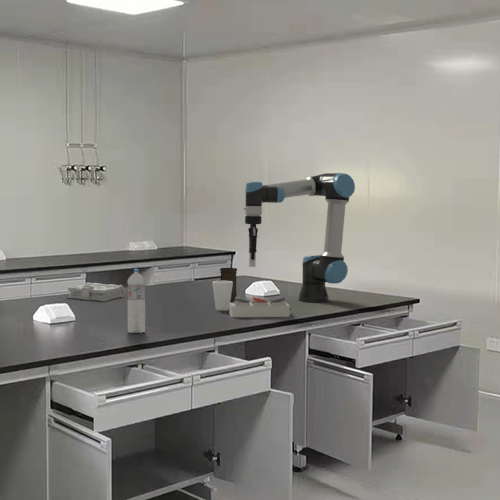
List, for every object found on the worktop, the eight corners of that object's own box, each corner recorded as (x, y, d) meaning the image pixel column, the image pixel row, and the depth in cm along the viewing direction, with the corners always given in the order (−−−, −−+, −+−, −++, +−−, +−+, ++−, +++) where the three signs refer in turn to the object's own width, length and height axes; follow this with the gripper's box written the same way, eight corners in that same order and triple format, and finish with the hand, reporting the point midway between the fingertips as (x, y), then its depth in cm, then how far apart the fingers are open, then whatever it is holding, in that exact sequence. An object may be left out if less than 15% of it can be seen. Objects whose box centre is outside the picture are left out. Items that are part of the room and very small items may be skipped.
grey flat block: (82, 293, 406) (82, 279, 405) (126, 297, 394) (126, 282, 393) (58, 298, 389) (58, 283, 388) (103, 303, 377) (103, 287, 376)
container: (235, 307, 365) (235, 269, 363) (217, 306, 367) (217, 269, 365) (239, 304, 374) (239, 267, 372) (221, 303, 375) (221, 267, 374)
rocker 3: (283, 298, 344) (282, 296, 343) (285, 300, 340) (284, 297, 340) (270, 302, 343) (270, 299, 343) (272, 303, 339) (271, 301, 339)
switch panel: (288, 312, 350) (288, 299, 349) (292, 316, 340) (292, 302, 339) (229, 313, 346) (229, 299, 346) (231, 317, 336) (231, 303, 335)
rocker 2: (265, 302, 343) (266, 299, 343) (266, 303, 339) (267, 300, 339) (252, 298, 342) (253, 296, 342) (253, 300, 338) (254, 297, 338)
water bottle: (128, 330, 303) (128, 268, 301) (145, 330, 304) (145, 268, 302) (127, 334, 297) (126, 270, 294) (144, 334, 297) (144, 270, 295)
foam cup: (235, 308, 360) (235, 281, 359) (228, 311, 352) (228, 283, 351) (216, 307, 364) (216, 280, 362) (209, 310, 355) (209, 282, 354)
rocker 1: (247, 302, 342) (248, 299, 342) (248, 303, 338) (249, 301, 338) (234, 299, 341) (235, 296, 341) (235, 300, 337) (236, 297, 337)
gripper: (243, 214, 356) (242, 265, 357) (246, 215, 343) (245, 267, 345) (259, 215, 356) (258, 265, 358) (263, 216, 343) (261, 268, 345)
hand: (252, 266), depth 351 cm, fingers closed
